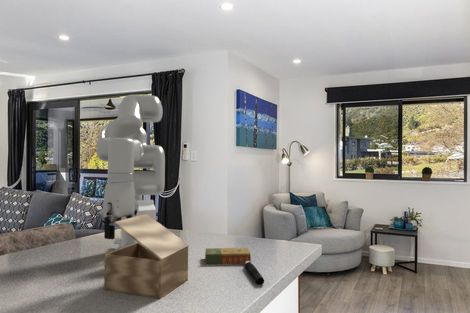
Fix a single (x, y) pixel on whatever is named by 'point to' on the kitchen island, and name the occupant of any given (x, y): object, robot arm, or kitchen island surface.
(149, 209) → the milk
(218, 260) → the carton
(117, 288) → the wooden box
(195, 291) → the kitchen island surface
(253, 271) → the black handled hook tool
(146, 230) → the lid flap
